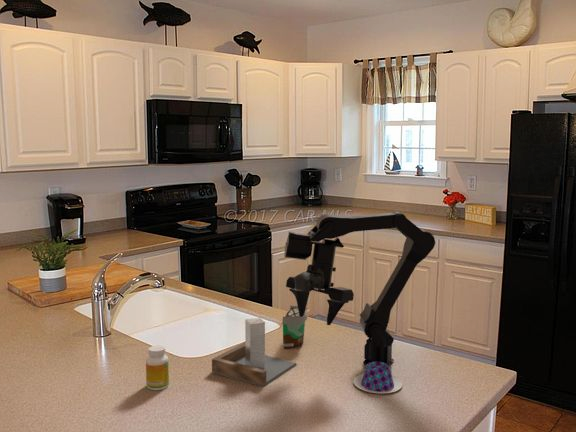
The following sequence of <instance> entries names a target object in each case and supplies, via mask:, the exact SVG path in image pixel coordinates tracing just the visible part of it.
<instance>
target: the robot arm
mask: <svg viewBox="0 0 576 432" xmlns="http://www.w3.org/2000/svg"><path fill="white" fill-rule="evenodd" d="M315 223H316V225H315V226H314V227H313V228H311V229H310V230H309V232H307V234H306V233H305V234H304V233H303V234H302V233H296V232H294V231H288V234H287V238H286V242H285V245H284V255H283V256H284V258H287V259H295V260H303V261H304V260H305V261H306V260H307V259H309V258H310V257H311V256H312V259H311V264H308V265H307V268H306V271H302V272H300V273H299V274H298V275H295V276H289V277H288V278H287V280H286V284H285V288H289V289H288V290H289V291H290V292H291V293H292V294H293V295H294V297H295V300H296V304H297V305H296V306H298V310H299V315H300V317H303V315H304V313H305V311H306V310H307V309H306V308H307V305H308V300H309V296H310V292H312V291H314V292H318V293H322V294H325V295H328V297H329V299H326V301H327V303H328V310H327V315H326V316H327V317H326V325H327V326H331V325H332V323H333V321H334V320H335V318H336V316H337V315H338V313H339V312H340V311H341V309H342V308H343V307H344V305H345V304H349V302H351V301H352V302H353V301H354V296H355V294H354V292H353V289H351V288H347V287H342V286H337V287H334V285H335V284H334V282H332V279H333V278H332V277H333V272H336V267H334V262H335V255H336V249H337V248H341V249H342V248H344V244H343V243H342V242H341V240H340V238H339V237H343V236H346V235H348V234H352V233H355V232H365V231H374V230H375V231H376V230H388V229H396V230H397V231H399V232H400V233H401V235H403V236H404V237H405V240H404V242H403V248H402V255H401V257H400V259H399V260H398V262H397V264H396V265H395V267H394V269H393V271H392V273H391V274H390V277H389V278H388V280H387V281H386V283H385V285H384V287H383V289H382V291H381V292H380V294H379V296H378V298H377V299H376V300H375V302H373V303H372V304H371V305H370V304H369V303H366V304H365V305H364V309H363V310H362V311H361V313H359V317H360V318H359V325H360V327H361V329H362V331H363V333H364V334H365V335H366V337H367V339H366V342H365V343H364V353H363V358H364V360H363V361H362V363H363V364H365V365H367V364H368V363H370V362H374V361H376V362H383V363H386V364H388V365H389V366H390V365H391V364H392V363H393V362H394V360H395V359H394V358H392V356H393V355H392V351H393V349H392V348H393V342H394V337H393V336H392V334H391V333H390V332H389V330H388V326H389V323H390V318H391V317H390V316H391V312H392V309H393V308H394V305H395V303H396V302H397V300H398V299H399V297H400V295H401V293H402V292H403V290H404V288H405V286H406V284H407V283H408V281H409V279H410V278H411V275H412V274H413V272H414V271H415V269H416V267H417V266H418V264H419V263H420V262H421V263H422V261H424V259H426V258H427V256H429V254H430V253H431V252H432V251H433V250H434V248H435V246H436V239H435V237H434V235H433V234H432V233H431V232H430V231H427V230H425V229H423V228H421V227H418V226H417V225H416V224H415V223H413V222H412V221H411V220H410V219H408V218H407V217H406V215H405V214H404V213H401V212H399V211H393V212H386V213H376V214H364V215H354V216H348V215H341V214H334V213H333V214H332V213H325V214H321V215H320V216H319V217H318V218H317V220H316V222H315Z"/></svg>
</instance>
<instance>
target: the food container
mask: <svg viewBox="0 0 576 432" xmlns="http://www.w3.org/2000/svg"><path fill="white" fill-rule="evenodd" d="M289 306H290V307H289V311H287V312H286V314H285V315H284V316H282V321H281V322H282V347H283V350H293V349H298V348H300V347H302V346H303V345H304V338H305V326H306V321H307V320H308V314H307V311H306V310H305V313H304V315H303V317H300V315H299V310H298V305H293V304H292V305H291V304H290V305H289Z"/></svg>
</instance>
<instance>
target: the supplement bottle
mask: <svg viewBox="0 0 576 432" xmlns="http://www.w3.org/2000/svg"><path fill="white" fill-rule="evenodd" d="M147 350H148V351H147V352H148V356H147V357H146V358H145V376H146V378H145V384H146V388H147V389H149V390H151V391H161V390H164V389H166V388H168V386H169V385H170V374H169V372H170V371H169V365H170V364H169V357H168V355H167V354H166V347H165V346H164V345H152V346H150V347H148V349H147Z"/></svg>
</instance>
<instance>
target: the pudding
mask: <svg viewBox="0 0 576 432" xmlns="http://www.w3.org/2000/svg"><path fill="white" fill-rule="evenodd" d="M353 384H354V386H355V387H356V388H358V389H360V390H362V391H364V392H366V393H367V392H368V393H372V394H373V393H374V394H391V393H395V392H397V391H399V390H400V389H401V388H402V387H403V382H402V381H401V379H399V378H398V377H396V376H393V374H392V370H391V367H390V365H388V364H386V363H383V362H376V361H374V362H370V363H368V364H366V366H365V369H364V372H363V373H362V374H358V375H357V376H355V377H354V379H353Z"/></svg>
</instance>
